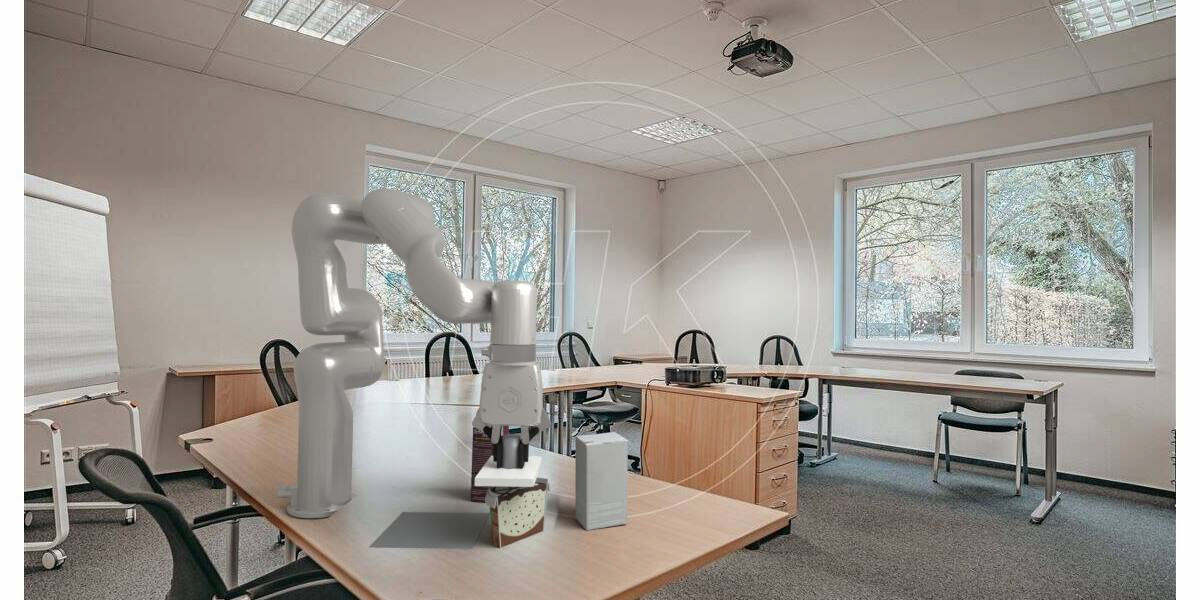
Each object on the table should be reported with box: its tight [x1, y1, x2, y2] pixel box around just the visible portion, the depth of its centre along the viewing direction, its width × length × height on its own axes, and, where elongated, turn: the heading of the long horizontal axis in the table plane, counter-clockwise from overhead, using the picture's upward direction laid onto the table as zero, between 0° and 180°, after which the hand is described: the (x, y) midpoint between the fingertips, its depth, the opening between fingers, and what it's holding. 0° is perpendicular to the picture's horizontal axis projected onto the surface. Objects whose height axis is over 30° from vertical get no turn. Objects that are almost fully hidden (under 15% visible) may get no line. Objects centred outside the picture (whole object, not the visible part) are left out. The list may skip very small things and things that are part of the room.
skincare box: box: [574, 431, 629, 531], centre depth 108 cm, size 8×7×16 cm
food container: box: [484, 476, 551, 549], centre depth 97 cm, size 12×6×10 cm, turn 141°
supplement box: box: [470, 425, 510, 504], centre depth 117 cm, size 9×5×16 cm, turn 168°
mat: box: [368, 511, 490, 550], centre depth 99 cm, size 16×16×2 cm
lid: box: [475, 433, 543, 487], centre depth 98 cm, size 9×14×6 cm, turn 0°
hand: (510, 465), depth 98 cm, fingers closed on lid, 3 cm apart
